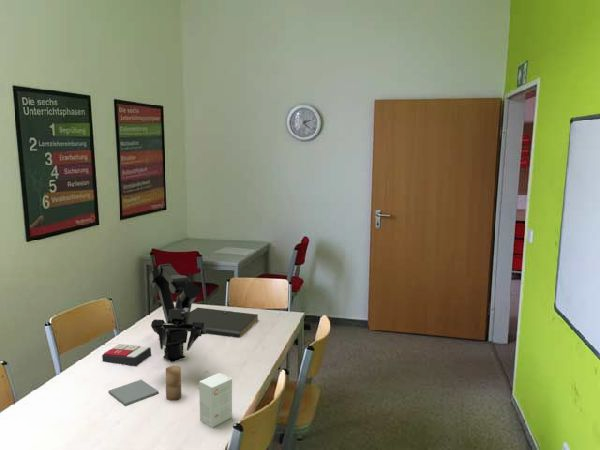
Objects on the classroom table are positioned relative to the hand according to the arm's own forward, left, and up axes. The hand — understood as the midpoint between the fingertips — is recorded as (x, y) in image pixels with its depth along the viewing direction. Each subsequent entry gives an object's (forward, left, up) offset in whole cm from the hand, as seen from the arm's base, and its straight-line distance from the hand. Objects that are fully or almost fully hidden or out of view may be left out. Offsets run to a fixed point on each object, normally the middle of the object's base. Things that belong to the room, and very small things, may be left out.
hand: (174, 349), depth 169 cm
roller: (+4, +6, -14) cm, 16 cm away
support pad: (+13, -5, -13) cm, 19 cm away
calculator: (+1, -33, -14) cm, 36 cm away
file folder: (-48, -40, -14) cm, 64 cm away
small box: (+2, +27, -14) cm, 31 cm away
